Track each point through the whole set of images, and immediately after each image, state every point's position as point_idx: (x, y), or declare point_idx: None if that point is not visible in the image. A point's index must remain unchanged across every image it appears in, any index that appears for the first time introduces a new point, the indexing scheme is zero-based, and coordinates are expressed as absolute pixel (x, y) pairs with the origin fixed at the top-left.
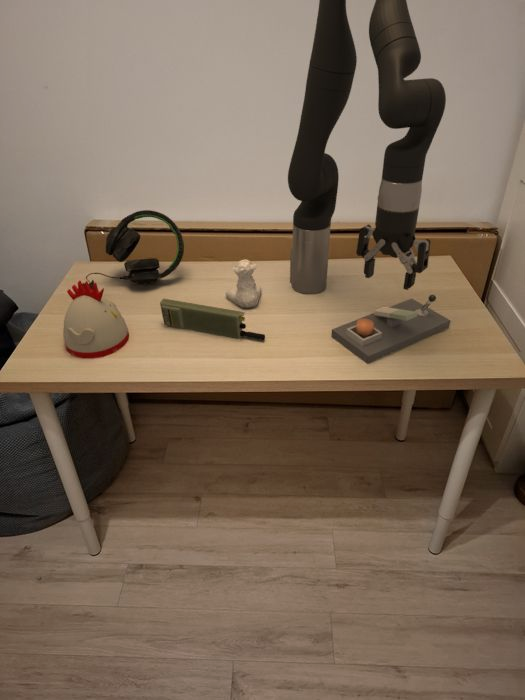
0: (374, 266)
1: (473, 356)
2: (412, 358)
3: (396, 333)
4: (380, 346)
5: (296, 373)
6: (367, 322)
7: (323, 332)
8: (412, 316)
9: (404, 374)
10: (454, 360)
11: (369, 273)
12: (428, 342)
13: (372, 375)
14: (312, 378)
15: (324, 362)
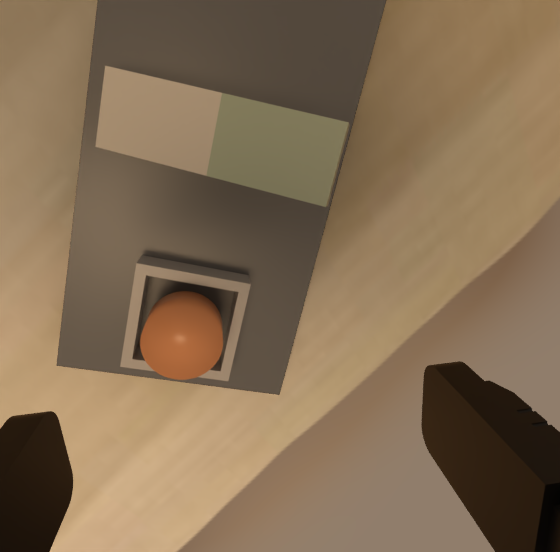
0: (7, 474)
1: (543, 71)
2: (373, 245)
3: (274, 199)
4: (277, 320)
5: (147, 548)
6: (186, 333)
7: (23, 347)
8: (339, 161)
9: (391, 335)
10: (494, 148)
11: (53, 517)
12: (374, 104)
13: (319, 406)
14: (197, 530)
15: (168, 463)
